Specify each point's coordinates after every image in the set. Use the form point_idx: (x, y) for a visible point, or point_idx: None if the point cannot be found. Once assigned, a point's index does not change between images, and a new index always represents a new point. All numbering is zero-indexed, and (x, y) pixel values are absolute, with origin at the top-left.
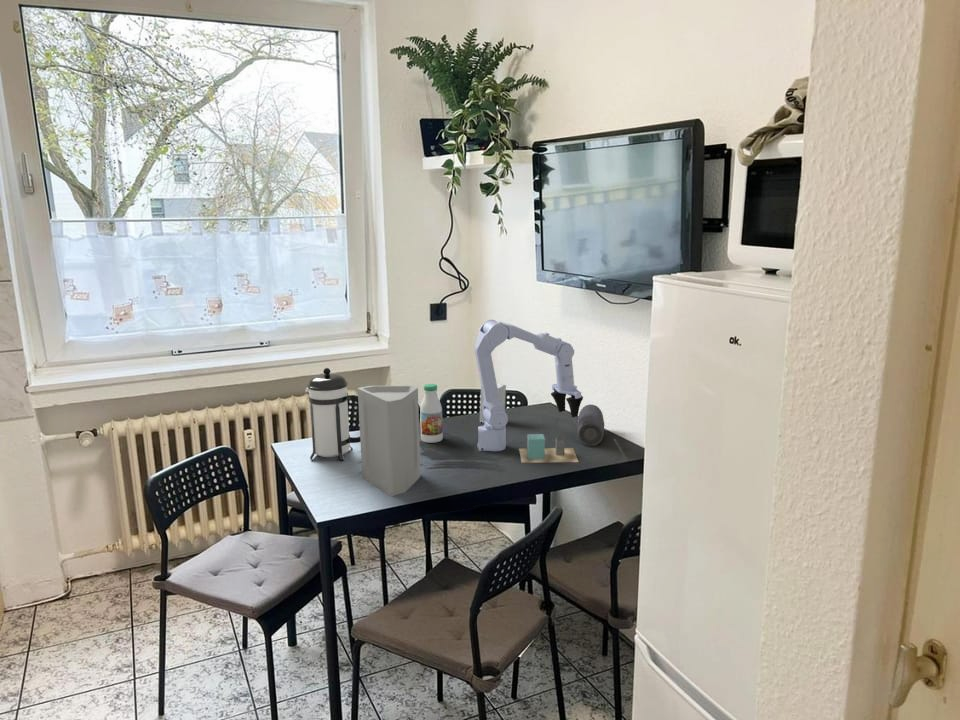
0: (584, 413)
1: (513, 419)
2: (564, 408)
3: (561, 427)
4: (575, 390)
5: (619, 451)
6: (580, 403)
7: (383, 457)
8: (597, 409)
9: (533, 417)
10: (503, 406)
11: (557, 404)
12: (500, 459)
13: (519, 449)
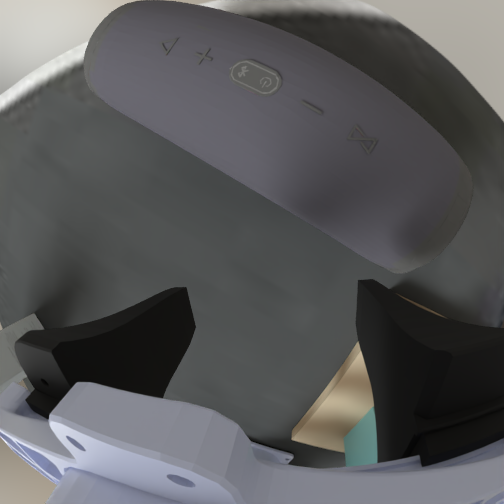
0: (231, 124)
1: (23, 282)
2: (178, 297)
3: (100, 174)
4: (416, 496)
5: (452, 119)
6: (448, 321)
7: None
8: (183, 13)
9: (17, 220)
10: (8, 340)
11: (167, 377)
12: (310, 467)
13: (298, 441)
